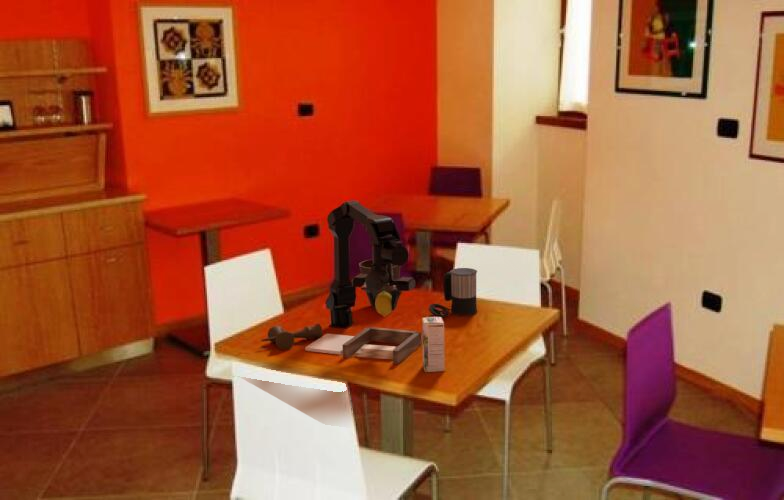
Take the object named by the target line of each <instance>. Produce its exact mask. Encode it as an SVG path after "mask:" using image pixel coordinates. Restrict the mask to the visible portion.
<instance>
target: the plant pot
mask: <svg viewBox="0 0 784 500" xmlns="http://www.w3.org/2000/svg"><path fill="white" fill-rule="evenodd" d="M371 264H373V258H372V259H366V260H363V261H361V262H359V264H358V267H359V271H360V274H368V273H369V272H370V271H371ZM392 272H393V274H394V278H393V280H399V279H400V273H401V266H397V265H392ZM392 289H393V286H388V285H383V286H382V288H381V289H380V290H377V295H378V294H380V293H381V292H383V291H385V292H387V293H389V294H390V295H391V296H392V294H391V292H390V291H391V290H392ZM365 293H366V296H367V298H368V301H369V304H370V306H371V308H372V309H374V307H373V304H372V302H371V299H370V297H369V295H368V293H367V292H366V291H365Z"/></svg>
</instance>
